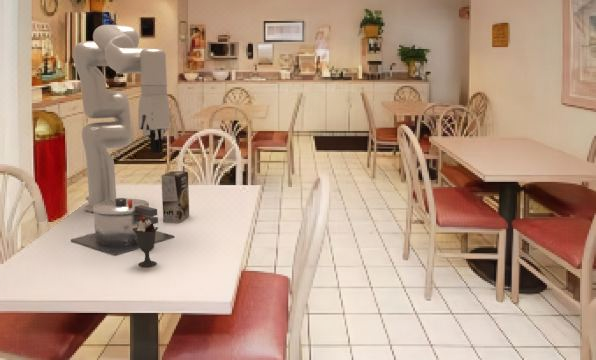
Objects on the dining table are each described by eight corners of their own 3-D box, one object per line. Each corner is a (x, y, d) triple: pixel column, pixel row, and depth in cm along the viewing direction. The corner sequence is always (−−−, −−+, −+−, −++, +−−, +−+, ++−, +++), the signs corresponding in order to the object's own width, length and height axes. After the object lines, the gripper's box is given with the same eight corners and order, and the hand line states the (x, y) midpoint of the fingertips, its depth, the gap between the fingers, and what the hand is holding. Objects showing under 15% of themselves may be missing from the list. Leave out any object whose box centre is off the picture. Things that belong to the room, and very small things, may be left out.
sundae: (136, 260, 171) (133, 208, 168) (161, 260, 172) (159, 207, 169) (132, 268, 165) (129, 214, 162) (158, 268, 165) (155, 213, 162)
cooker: (70, 241, 189) (68, 210, 187) (130, 225, 206) (128, 197, 204) (124, 259, 173) (122, 225, 171) (184, 240, 190) (183, 209, 188)
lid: (81, 209, 187) (80, 199, 186) (126, 199, 200) (126, 189, 199) (131, 222, 173) (130, 211, 172) (176, 210, 186) (175, 200, 185)
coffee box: (180, 223, 209) (178, 176, 205) (162, 222, 210) (160, 175, 207) (190, 216, 217) (188, 171, 214) (173, 215, 219) (171, 170, 215)
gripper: (159, 89, 192) (162, 147, 196) (127, 92, 179) (130, 155, 183) (179, 90, 189) (181, 149, 193) (148, 93, 176) (150, 157, 180)
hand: (156, 152), depth 188 cm, fingers closed
